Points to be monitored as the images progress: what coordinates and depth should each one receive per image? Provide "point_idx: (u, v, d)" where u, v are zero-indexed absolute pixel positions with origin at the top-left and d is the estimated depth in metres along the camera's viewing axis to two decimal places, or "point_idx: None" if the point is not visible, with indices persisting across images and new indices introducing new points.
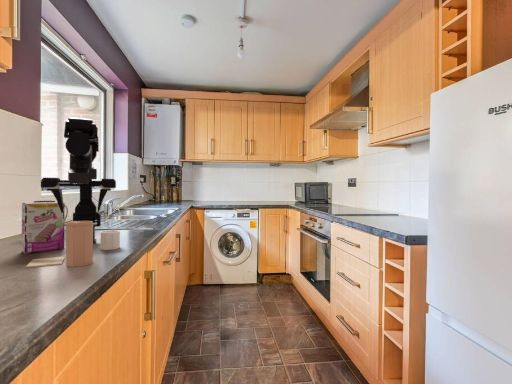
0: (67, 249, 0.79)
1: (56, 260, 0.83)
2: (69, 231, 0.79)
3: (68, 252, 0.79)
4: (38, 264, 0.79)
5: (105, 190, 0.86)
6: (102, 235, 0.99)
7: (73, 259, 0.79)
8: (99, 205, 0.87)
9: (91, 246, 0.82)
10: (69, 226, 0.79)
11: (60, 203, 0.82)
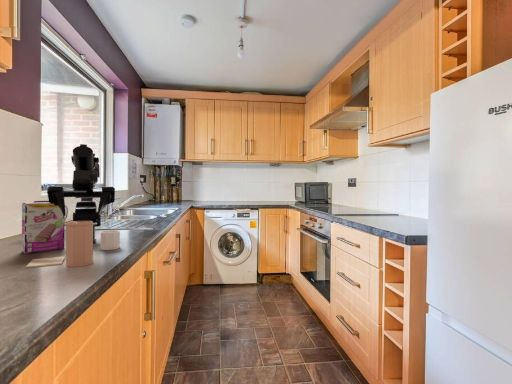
0: (67, 249, 0.79)
1: (56, 260, 0.83)
2: (69, 231, 0.79)
3: (68, 252, 0.79)
4: (38, 264, 0.79)
5: (105, 193, 0.94)
6: (102, 235, 0.99)
7: (73, 259, 0.79)
8: (99, 207, 0.92)
9: (91, 246, 0.82)
10: (69, 226, 0.79)
11: (63, 206, 0.87)
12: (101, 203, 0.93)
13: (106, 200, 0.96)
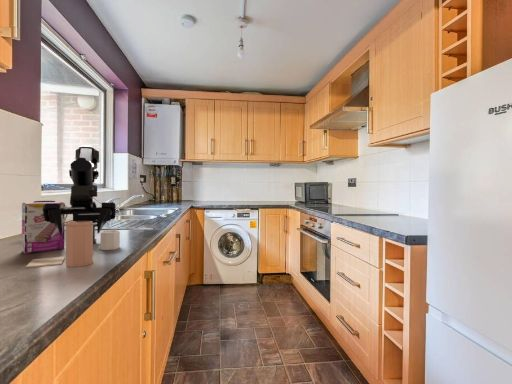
0: (67, 249, 0.79)
1: (56, 260, 0.83)
2: (69, 231, 0.79)
3: (68, 252, 0.79)
4: (38, 264, 0.79)
5: (105, 209, 0.88)
6: (102, 235, 0.99)
7: (73, 259, 0.79)
8: (99, 225, 0.85)
9: (91, 246, 0.82)
10: (69, 226, 0.79)
11: (60, 224, 0.81)
12: (101, 220, 0.86)
13: (106, 217, 0.90)
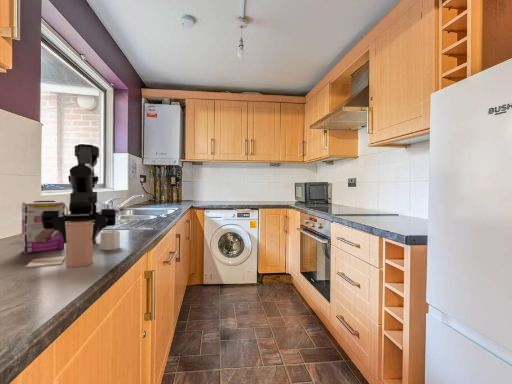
0: (67, 249, 0.79)
1: (56, 260, 0.83)
2: (69, 231, 0.79)
3: (68, 252, 0.79)
4: (38, 264, 0.79)
5: (100, 217, 0.85)
6: (102, 235, 0.99)
7: (73, 259, 0.79)
8: (94, 233, 0.83)
9: (91, 246, 0.82)
10: (69, 226, 0.79)
11: (64, 232, 0.80)
12: (96, 228, 0.84)
13: (102, 224, 0.88)
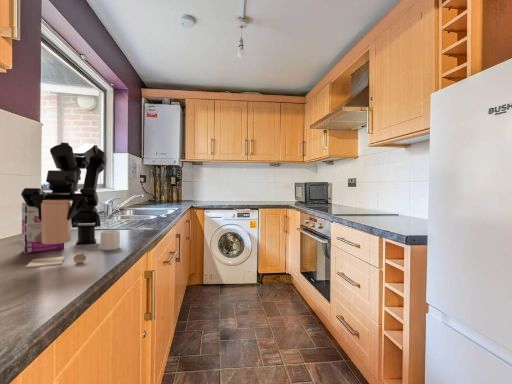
0: (42, 226, 0.79)
1: (56, 260, 0.83)
2: (43, 208, 0.79)
3: (43, 229, 0.79)
4: (38, 264, 0.79)
5: (78, 196, 0.84)
6: (102, 235, 0.99)
7: (46, 236, 0.79)
8: (70, 212, 0.82)
9: (66, 225, 0.81)
10: (43, 203, 0.79)
11: (40, 209, 0.80)
12: (72, 207, 0.83)
13: (82, 203, 0.87)
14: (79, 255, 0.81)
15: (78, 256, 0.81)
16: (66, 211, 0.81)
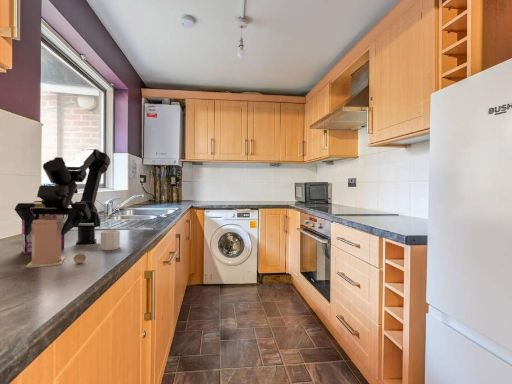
0: (32, 246, 0.80)
1: None
2: (33, 229, 0.80)
3: (32, 249, 0.80)
4: (38, 264, 0.79)
5: (73, 210, 0.85)
6: (102, 235, 0.99)
7: (35, 257, 0.79)
8: (64, 227, 0.82)
9: (55, 245, 0.81)
10: (33, 224, 0.79)
11: (26, 224, 0.81)
12: (67, 222, 0.83)
13: (78, 218, 0.87)
14: (79, 255, 0.81)
15: (78, 256, 0.81)
16: (55, 231, 0.81)
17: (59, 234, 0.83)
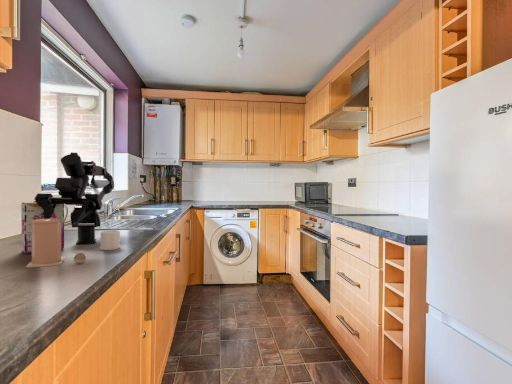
0: (32, 246, 0.80)
1: None
2: (33, 229, 0.80)
3: (32, 249, 0.80)
4: (38, 264, 0.79)
5: (87, 200, 0.93)
6: (102, 235, 0.99)
7: (35, 257, 0.79)
8: (79, 215, 0.91)
9: (55, 245, 0.81)
10: (33, 224, 0.79)
11: (45, 212, 0.90)
12: (81, 210, 0.92)
13: (90, 207, 0.96)
14: (79, 255, 0.81)
15: (78, 256, 0.81)
16: (55, 231, 0.81)
17: (59, 234, 0.83)
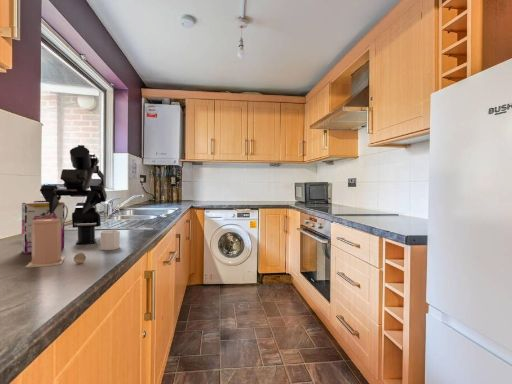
0: (32, 246, 0.80)
1: None
2: (33, 229, 0.80)
3: (32, 249, 0.80)
4: (38, 264, 0.79)
5: (92, 192, 0.94)
6: (102, 235, 0.99)
7: (35, 257, 0.79)
8: (84, 206, 0.92)
9: (55, 245, 0.81)
10: (33, 224, 0.79)
11: (51, 204, 0.91)
12: (87, 201, 0.93)
13: (95, 199, 0.97)
14: (79, 255, 0.81)
15: (78, 256, 0.81)
16: (55, 231, 0.81)
17: (59, 234, 0.83)
